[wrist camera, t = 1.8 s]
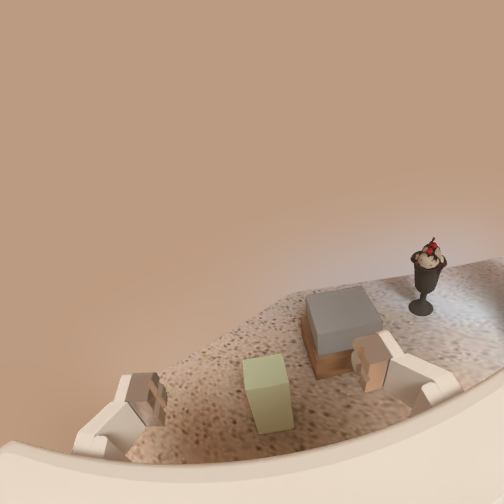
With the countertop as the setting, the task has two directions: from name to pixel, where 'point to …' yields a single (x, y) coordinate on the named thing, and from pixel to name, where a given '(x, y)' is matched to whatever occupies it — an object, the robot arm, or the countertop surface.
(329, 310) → the tower top block
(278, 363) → the pillar block
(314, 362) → the tower base block
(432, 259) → the sundae
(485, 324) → the countertop surface
